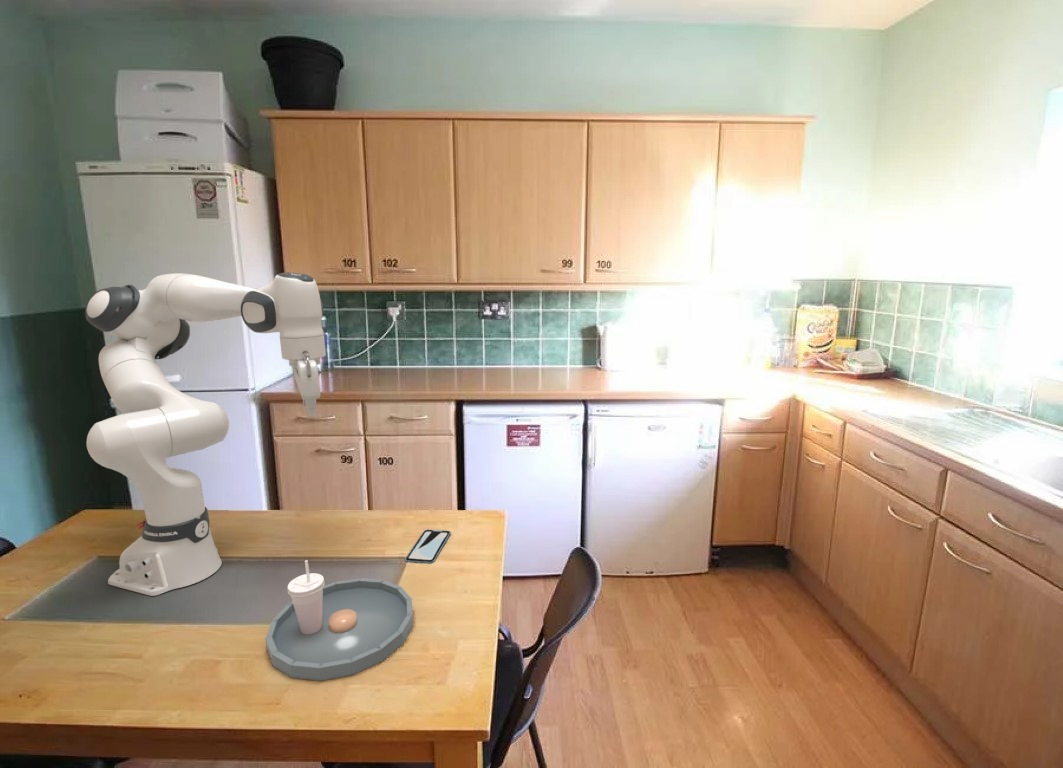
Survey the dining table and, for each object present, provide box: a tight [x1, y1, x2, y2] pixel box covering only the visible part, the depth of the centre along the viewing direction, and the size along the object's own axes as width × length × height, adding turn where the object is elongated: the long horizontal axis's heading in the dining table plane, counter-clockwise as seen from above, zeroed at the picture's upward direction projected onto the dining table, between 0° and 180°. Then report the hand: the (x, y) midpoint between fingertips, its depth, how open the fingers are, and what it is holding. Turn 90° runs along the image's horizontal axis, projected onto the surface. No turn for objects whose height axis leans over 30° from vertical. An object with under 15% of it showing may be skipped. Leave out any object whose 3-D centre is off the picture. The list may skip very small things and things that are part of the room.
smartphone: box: [404, 528, 452, 565], centre depth 132 cm, size 7×1×15 cm
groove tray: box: [265, 577, 414, 682], centre depth 102 cm, size 26×26×2 cm
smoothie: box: [287, 559, 326, 635], centre depth 99 cm, size 6×6×14 cm
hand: (309, 410), depth 118 cm, fingers open, 8 cm apart
